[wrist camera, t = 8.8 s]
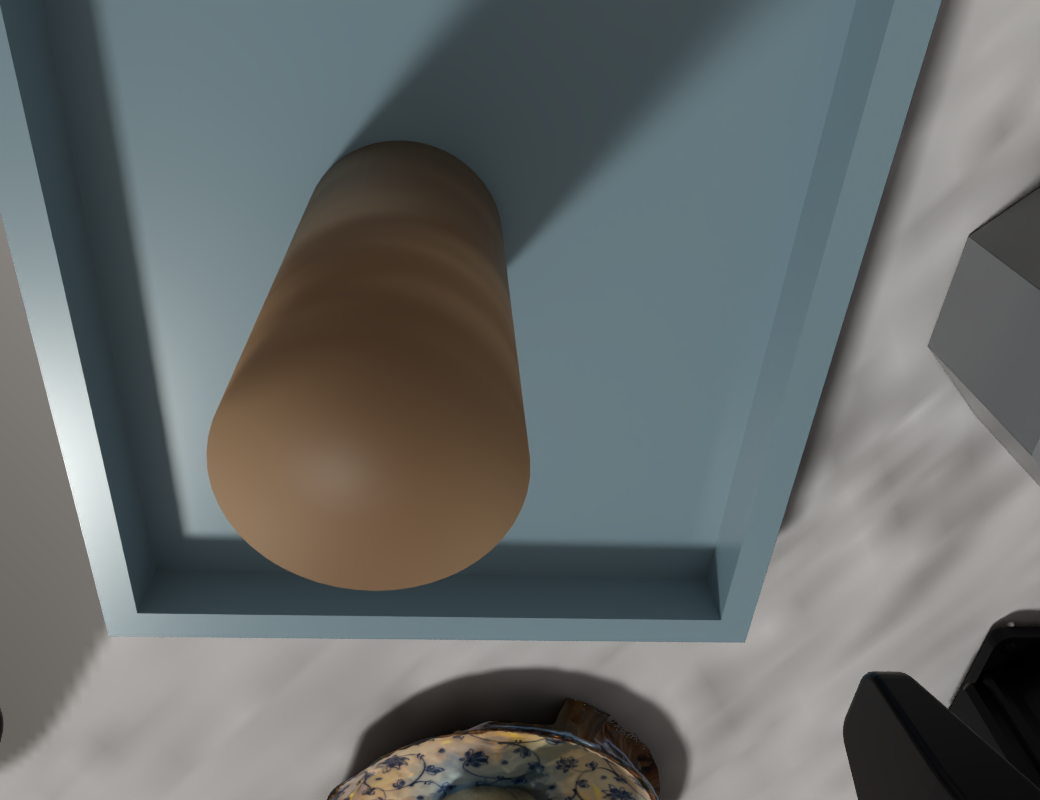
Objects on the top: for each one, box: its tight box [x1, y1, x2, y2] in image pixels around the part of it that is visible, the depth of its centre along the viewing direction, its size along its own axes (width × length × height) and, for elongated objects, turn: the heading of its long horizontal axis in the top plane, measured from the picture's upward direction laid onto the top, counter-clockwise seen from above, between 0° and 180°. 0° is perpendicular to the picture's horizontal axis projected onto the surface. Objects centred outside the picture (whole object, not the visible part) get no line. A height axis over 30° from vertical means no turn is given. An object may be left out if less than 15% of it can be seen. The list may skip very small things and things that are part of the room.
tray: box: [0, 0, 942, 643], centre depth 17 cm, size 16×20×2 cm
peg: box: [206, 140, 530, 591], centre depth 14 cm, size 4×4×8 cm
